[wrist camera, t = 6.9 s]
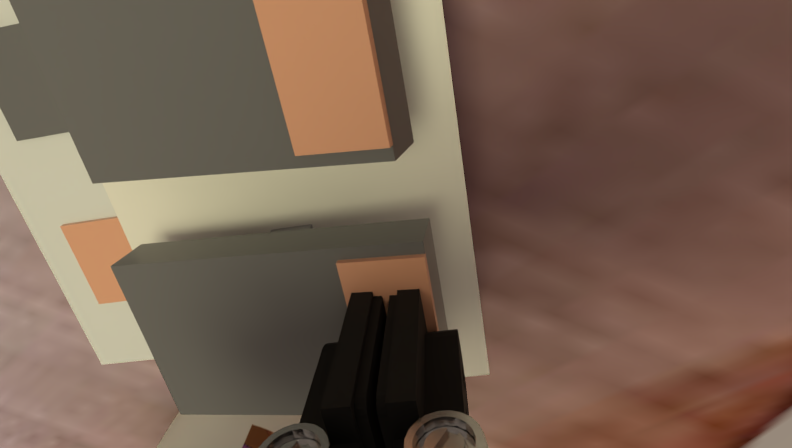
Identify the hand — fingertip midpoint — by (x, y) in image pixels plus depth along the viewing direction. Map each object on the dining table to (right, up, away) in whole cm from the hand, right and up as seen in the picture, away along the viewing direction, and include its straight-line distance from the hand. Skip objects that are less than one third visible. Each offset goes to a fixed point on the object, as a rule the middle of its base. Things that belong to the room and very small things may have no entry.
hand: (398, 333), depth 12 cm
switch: (-3, 0, +1) cm, 3 cm away
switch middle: (-4, +6, -2) cm, 8 cm away
